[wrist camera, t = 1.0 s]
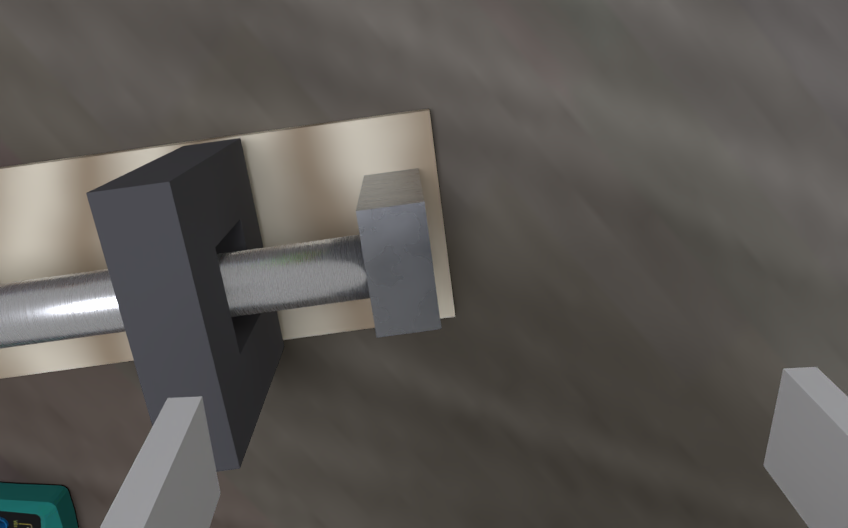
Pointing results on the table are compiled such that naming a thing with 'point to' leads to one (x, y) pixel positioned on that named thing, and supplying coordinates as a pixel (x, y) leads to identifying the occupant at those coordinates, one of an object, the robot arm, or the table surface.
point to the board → (274, 202)
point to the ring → (190, 287)
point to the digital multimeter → (36, 506)
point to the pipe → (269, 276)
